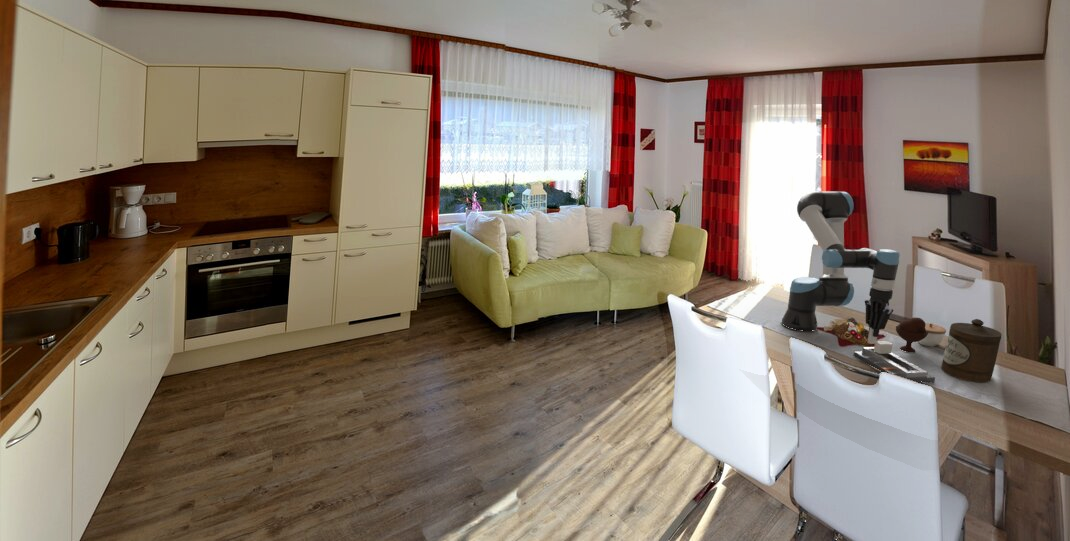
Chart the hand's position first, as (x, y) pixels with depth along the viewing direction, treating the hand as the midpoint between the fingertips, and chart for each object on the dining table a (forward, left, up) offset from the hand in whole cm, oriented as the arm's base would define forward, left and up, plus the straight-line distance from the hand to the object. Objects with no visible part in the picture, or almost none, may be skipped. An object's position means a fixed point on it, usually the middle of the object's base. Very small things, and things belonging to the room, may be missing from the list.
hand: (871, 342), depth 204 cm
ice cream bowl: (-4, +20, -6) cm, 21 cm away
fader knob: (+6, 0, -4) cm, 7 cm away
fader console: (+12, 0, -6) cm, 13 cm away
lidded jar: (-10, +34, -6) cm, 36 cm away
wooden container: (+18, +25, -6) cm, 31 cm away
